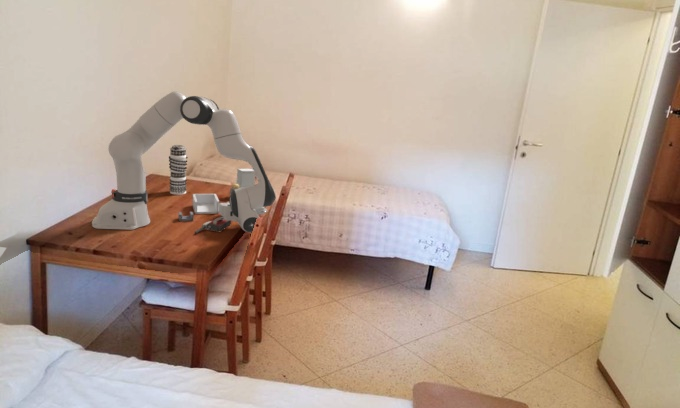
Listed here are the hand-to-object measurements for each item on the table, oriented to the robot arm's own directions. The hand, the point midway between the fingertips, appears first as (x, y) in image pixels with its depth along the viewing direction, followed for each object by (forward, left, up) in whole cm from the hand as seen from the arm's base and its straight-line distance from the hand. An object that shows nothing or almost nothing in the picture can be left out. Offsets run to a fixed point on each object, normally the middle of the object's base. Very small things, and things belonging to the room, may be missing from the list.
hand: (239, 203), depth 217 cm
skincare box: (+10, +39, -9) cm, 41 cm away
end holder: (-13, +17, -8) cm, 23 cm away
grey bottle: (0, +11, -9) cm, 14 cm away
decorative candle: (-24, +47, -9) cm, 54 cm away
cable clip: (-23, +3, -8) cm, 25 cm away
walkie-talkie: (-12, -10, -9) cm, 18 cm away
